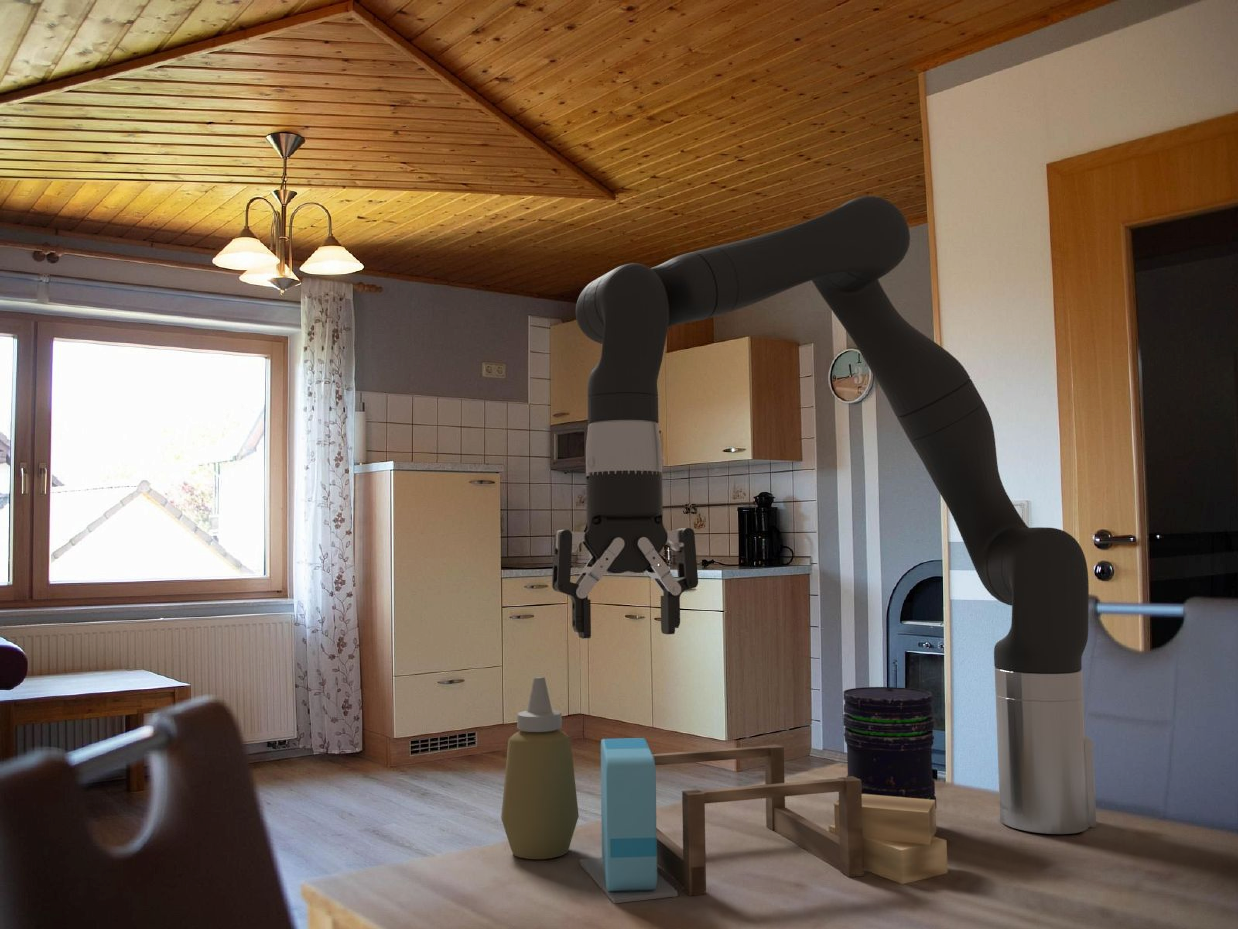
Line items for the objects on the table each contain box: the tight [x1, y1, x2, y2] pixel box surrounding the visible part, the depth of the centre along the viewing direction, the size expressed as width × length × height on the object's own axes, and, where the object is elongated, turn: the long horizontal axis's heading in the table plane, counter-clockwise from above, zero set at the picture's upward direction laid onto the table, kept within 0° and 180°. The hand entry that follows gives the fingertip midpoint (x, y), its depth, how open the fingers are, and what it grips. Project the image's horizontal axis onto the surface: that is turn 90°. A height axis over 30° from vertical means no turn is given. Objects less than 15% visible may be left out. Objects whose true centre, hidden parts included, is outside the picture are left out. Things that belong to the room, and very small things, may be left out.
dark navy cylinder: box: [842, 686, 937, 835], centre depth 116 cm, size 10×10×15 cm
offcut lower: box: [828, 824, 948, 885], centre depth 103 cm, size 6×10×4 cm, turn 30°
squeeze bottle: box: [500, 676, 580, 860], centre depth 108 cm, size 8×8×18 cm
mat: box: [579, 857, 678, 904], centre depth 99 cm, size 6×12×1 cm, turn 17°
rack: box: [652, 743, 865, 897], centre depth 106 cm, size 18×19×9 cm
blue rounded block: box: [600, 737, 658, 891], centre depth 99 cm, size 12×4×12 cm, turn 4°
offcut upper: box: [833, 794, 937, 845], centre depth 103 cm, size 5×9×3 cm, turn 66°
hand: (626, 635), depth 101 cm, fingers open, 8 cm apart
